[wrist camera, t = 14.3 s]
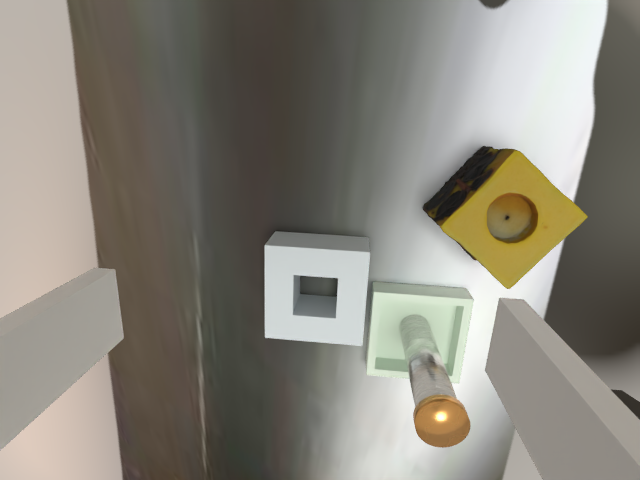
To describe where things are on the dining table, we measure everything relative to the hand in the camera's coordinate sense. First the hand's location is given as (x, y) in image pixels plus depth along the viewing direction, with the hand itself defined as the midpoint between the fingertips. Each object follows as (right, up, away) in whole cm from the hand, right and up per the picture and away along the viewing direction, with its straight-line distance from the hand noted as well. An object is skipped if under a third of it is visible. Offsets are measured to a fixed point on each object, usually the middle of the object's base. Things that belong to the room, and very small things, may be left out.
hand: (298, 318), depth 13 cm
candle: (+20, +7, +33) cm, 39 cm away
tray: (+13, -9, +38) cm, 41 cm away
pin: (+13, -9, +37) cm, 41 cm away
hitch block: (+1, -2, +37) cm, 37 cm away
